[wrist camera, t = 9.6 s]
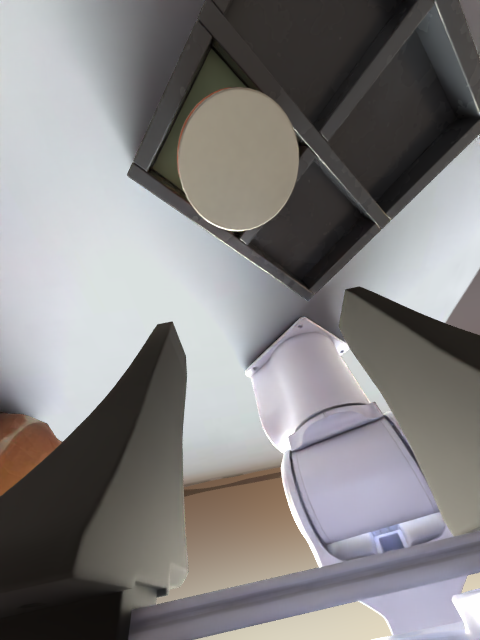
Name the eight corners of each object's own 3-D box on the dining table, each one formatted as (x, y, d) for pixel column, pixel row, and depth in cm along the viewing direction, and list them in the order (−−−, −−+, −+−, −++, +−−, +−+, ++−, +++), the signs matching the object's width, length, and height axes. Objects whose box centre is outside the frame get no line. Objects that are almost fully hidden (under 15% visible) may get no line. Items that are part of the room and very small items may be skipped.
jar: (233, 216, 17) (249, 254, 12) (166, 165, 15) (151, 185, 10) (282, 146, 15) (327, 155, 10) (213, 73, 13) (226, 36, 7)
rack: (299, 288, 22) (308, 301, 20) (134, 170, 15) (126, 175, 13) (467, 115, 16) (500, 114, 14) (317, -230, 9) (347, -318, 7)
